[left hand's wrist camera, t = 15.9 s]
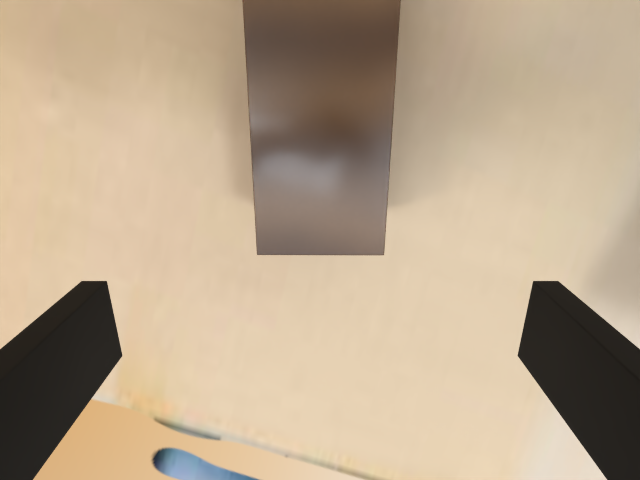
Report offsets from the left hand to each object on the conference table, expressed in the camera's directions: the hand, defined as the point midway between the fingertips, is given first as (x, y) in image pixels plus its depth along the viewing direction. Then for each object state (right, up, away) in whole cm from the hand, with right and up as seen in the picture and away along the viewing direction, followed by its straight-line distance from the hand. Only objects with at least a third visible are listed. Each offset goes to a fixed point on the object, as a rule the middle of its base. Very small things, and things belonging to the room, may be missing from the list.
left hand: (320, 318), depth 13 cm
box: (0, +16, +19) cm, 25 cm away
